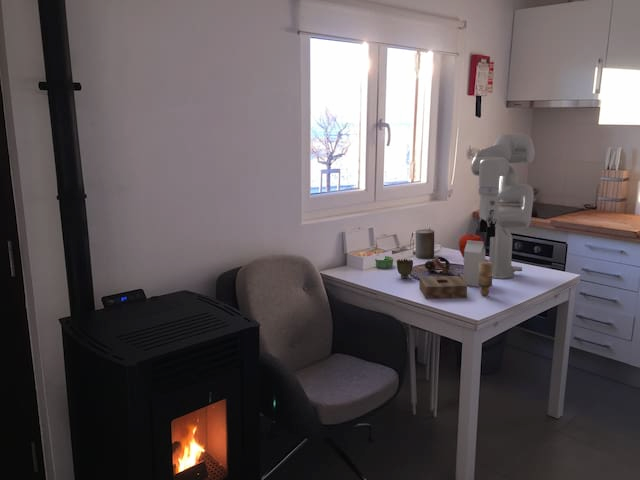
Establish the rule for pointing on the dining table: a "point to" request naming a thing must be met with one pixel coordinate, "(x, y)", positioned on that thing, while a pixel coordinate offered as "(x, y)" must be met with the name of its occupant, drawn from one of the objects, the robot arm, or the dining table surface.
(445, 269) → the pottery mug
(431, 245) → the pillar candle
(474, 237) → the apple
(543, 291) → the dining table surface
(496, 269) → the robot arm
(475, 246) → the milk carton
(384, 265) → the ramekin
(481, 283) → the oak peg
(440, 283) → the walnut block
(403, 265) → the dark rounded textured piece
